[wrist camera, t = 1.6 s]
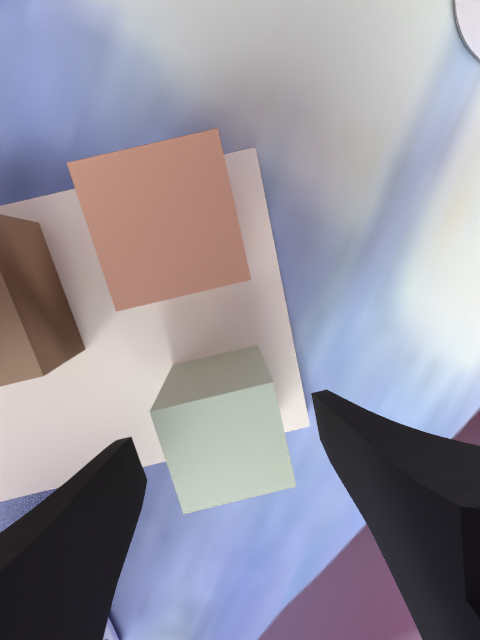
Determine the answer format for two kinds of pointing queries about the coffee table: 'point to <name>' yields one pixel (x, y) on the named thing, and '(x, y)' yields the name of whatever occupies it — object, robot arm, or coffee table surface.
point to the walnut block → (32, 306)
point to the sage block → (222, 430)
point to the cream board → (138, 345)
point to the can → (469, 24)
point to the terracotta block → (162, 219)
